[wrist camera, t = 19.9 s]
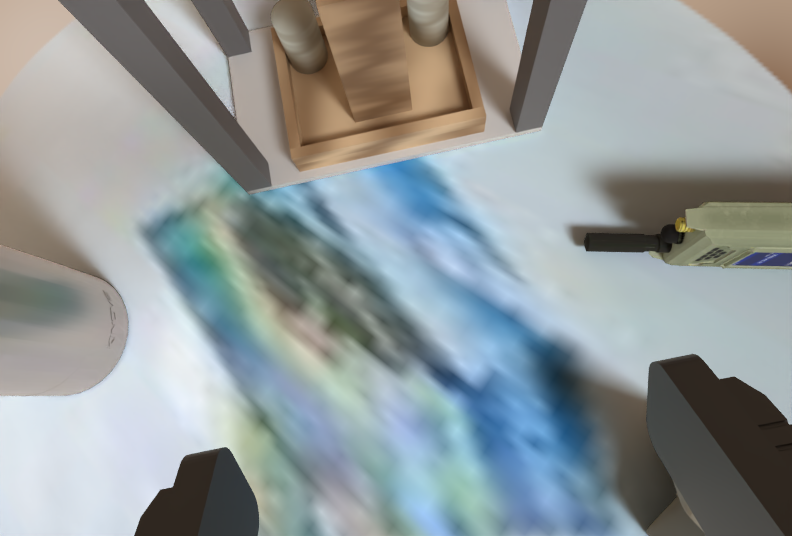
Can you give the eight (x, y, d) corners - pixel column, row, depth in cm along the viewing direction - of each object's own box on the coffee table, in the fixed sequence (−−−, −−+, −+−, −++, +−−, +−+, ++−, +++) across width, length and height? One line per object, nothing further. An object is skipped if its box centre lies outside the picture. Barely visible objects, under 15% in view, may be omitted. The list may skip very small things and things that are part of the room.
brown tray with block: (299, 171, 42) (231, 67, 29) (279, 46, 45) (207, -103, 32) (484, 131, 42) (502, 5, 28) (452, 7, 45) (455, -163, 31)
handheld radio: (961, 279, 37) (581, 270, 40) (950, 233, 38) (579, 227, 41) (1068, 250, 31) (608, 242, 33) (1053, 195, 32) (605, 191, 34)
